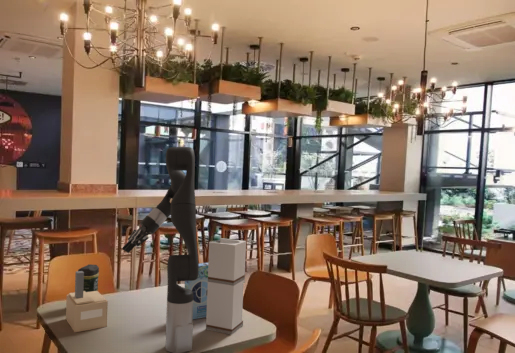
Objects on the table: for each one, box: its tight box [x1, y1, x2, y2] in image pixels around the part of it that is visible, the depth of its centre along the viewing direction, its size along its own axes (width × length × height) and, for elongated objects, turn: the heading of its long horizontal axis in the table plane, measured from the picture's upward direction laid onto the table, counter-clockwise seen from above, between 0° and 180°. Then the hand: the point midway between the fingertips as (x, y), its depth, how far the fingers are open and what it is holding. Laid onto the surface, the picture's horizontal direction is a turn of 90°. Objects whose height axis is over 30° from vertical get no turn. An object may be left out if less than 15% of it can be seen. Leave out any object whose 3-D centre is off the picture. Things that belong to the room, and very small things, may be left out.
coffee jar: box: [77, 263, 100, 292], centre depth 186 cm, size 10×8×19 cm
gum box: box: [184, 261, 208, 320], centre depth 182 cm, size 20×5×23 cm, turn 123°
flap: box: [68, 270, 94, 304], centre depth 166 cm, size 14×6×11 cm, turn 35°
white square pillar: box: [205, 237, 247, 336], centre depth 168 cm, size 11×11×35 cm
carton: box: [65, 290, 109, 333], centre depth 168 cm, size 16×12×10 cm
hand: (125, 250), depth 176 cm, fingers open, 2 cm apart
